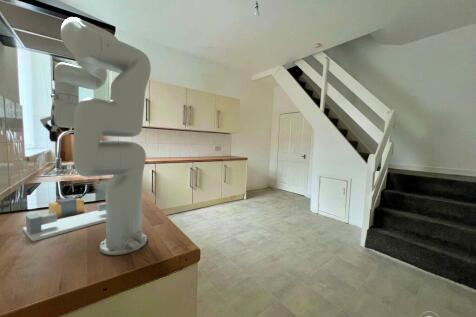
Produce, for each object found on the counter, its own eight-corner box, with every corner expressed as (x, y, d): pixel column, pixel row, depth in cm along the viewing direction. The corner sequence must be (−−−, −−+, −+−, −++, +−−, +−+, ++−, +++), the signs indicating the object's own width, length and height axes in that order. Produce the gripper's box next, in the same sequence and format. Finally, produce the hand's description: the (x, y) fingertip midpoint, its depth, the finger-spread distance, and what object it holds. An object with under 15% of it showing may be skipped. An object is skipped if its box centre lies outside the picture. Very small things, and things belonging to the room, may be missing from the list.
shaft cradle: (124, 216, 83) (124, 202, 83) (32, 241, 61) (31, 222, 60) (110, 209, 90) (110, 196, 89) (23, 230, 67) (22, 212, 67)
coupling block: (83, 211, 86) (83, 198, 86) (53, 218, 78) (52, 203, 77) (79, 209, 89) (79, 195, 88) (49, 215, 80) (48, 200, 80)
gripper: (45, 95, 73) (47, 142, 75) (95, 103, 89) (95, 142, 91) (34, 95, 76) (36, 140, 77) (84, 104, 92) (84, 141, 93)
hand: (67, 141), depth 84 cm, fingers open, 9 cm apart
